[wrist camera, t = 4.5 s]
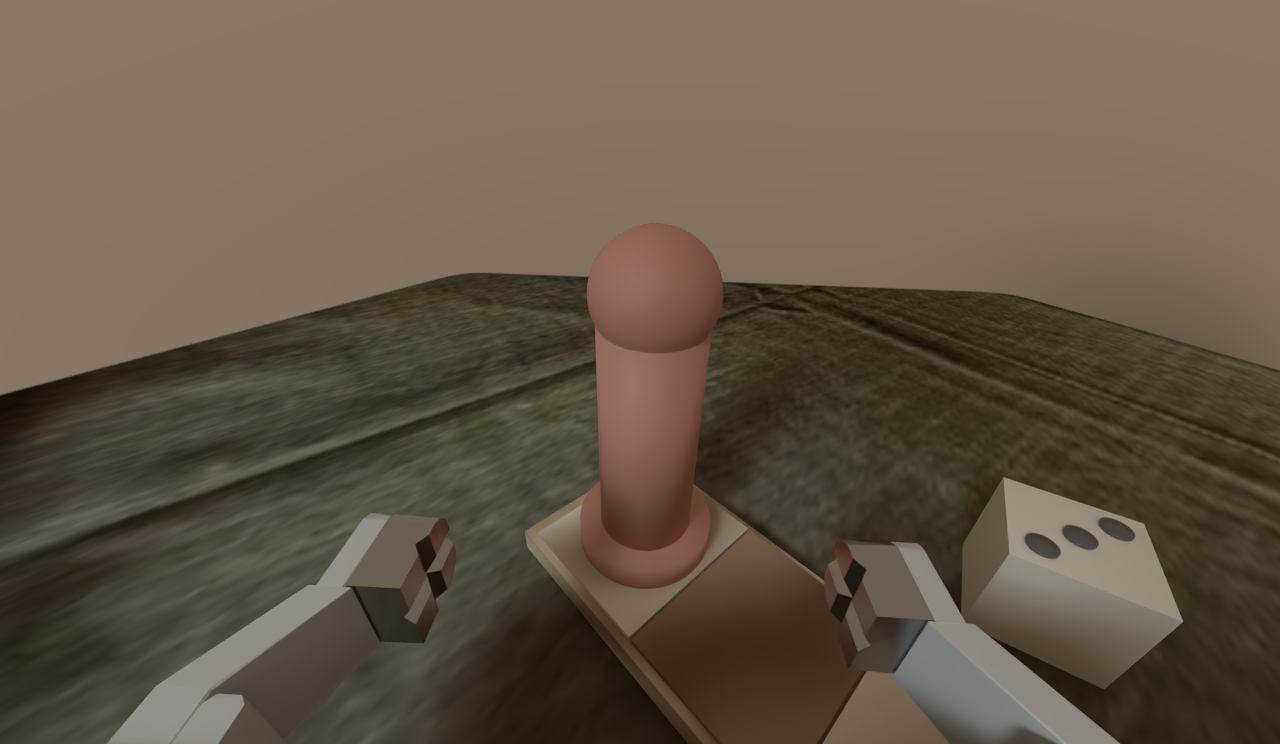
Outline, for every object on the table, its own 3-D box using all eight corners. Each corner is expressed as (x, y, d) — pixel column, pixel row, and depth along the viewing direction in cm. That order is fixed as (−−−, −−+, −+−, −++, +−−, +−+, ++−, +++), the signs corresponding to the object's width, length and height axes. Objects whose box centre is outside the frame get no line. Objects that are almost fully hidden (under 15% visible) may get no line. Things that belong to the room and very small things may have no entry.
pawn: (556, 525, 18) (522, 220, 12) (647, 467, 21) (659, 198, 15) (640, 617, 15) (656, 271, 9) (733, 534, 18) (794, 230, 12)
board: (527, 547, 19) (524, 527, 18) (650, 468, 23) (651, 449, 22) (1746, 2042, 4) (1934, 2200, 4) (1494, 1119, 9) (1563, 1120, 8)
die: (960, 623, 17) (1010, 551, 14) (962, 545, 19) (1004, 475, 17) (1102, 690, 15) (1185, 619, 13) (1081, 593, 18) (1145, 522, 15)
